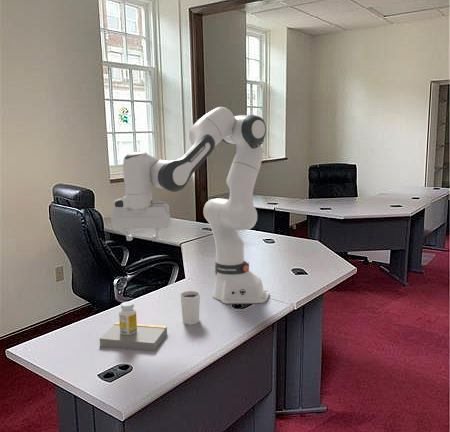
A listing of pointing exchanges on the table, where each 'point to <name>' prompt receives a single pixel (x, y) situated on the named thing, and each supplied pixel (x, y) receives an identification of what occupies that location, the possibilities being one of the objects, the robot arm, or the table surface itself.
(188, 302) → the white coffee cup
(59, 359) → the table surface
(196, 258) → the table surface
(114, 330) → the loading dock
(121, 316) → the supplement bottle
